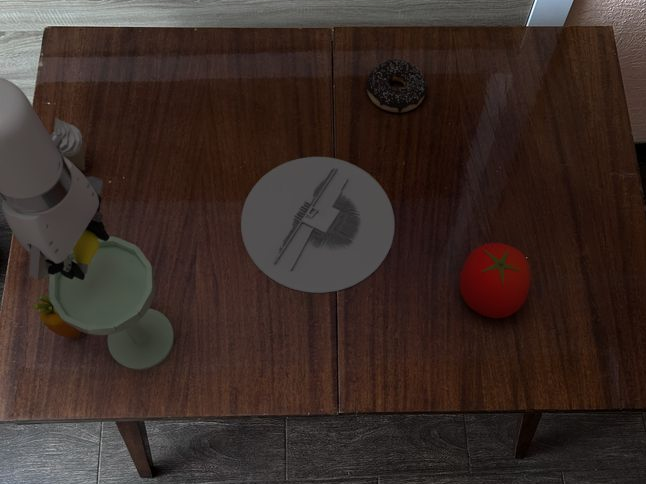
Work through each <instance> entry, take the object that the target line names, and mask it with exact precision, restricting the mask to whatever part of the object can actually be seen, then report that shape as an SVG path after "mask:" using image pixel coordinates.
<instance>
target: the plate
mask: <svg viewBox="0 0 646 484" xmlns="http://www.w3.org/2000/svg"><path fill="white" fill-rule="evenodd" d="M395 223H396V222H395V214H394V210H393V207H392V203H391V201H390V199H389V197H388V194H387V193H386V191H385V190H384V189H383V187H382V186H381V184H380V183H379V182H378V181H377V180H376V179H375V178H374V177H373V176H372V175H370V173H368V172H367V171H365V170H364V169H362V168H360V167H359V166H357V165H355V164H353V163H352V162H351V163H350V162H349V161H345V160H342V159H339V158H334V157H329V156H328V157H327V156H308V157H301V158H297V159H293V160H290V161H289V160H288V161H286V162H284V163H282V164H279V165H278V166H276V167H274V168H272V169H271V170H270V171H268V172H267V173H265V174H264V175H263V176H262V177H261V178H260V179H259V180H258V181H257V182H256V183H255V184H254V186H253V187H252V189H251V190H250V192H249V193H248V195H247V197H246V199H245V201H244V204H243V208H242V211H241V217H240V231H241V236H242V241H243V244H244V248H245V250H246V252H247V254H248V256H249V257H250V259H251V260H252V262H253V263H254V265H255V266H256V268H257V269H259V270H260V271H261V272H262V273H263V275H265V276H266V277H268V278H269V279H270V280H272V281H274V282H275V283H277V284H279V285H280V286H282V287H285V288H287V289H290V290H294V291H297V292H301V293H306V294H307V293H308V294H329V293H335V292H339V291H342V290H346V289H349V288H351V287H354V286H356V285H358V284H360V283H361V282H364V281H365V280H366V279H367V278H369V277H370V276H371V275H372V274H373V273H375V272H376V271H377V270H378V269H379V267H380V266H381V265H382V264H383V262H384V260H385V259H386V258H387V256H388V254H389V252H390V250H391V248H392V245H393V242H394V241H393V240H394V235H395V225H396V224H395Z"/></svg>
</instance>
